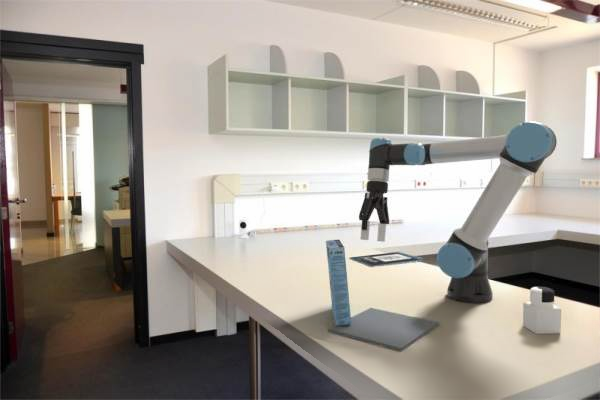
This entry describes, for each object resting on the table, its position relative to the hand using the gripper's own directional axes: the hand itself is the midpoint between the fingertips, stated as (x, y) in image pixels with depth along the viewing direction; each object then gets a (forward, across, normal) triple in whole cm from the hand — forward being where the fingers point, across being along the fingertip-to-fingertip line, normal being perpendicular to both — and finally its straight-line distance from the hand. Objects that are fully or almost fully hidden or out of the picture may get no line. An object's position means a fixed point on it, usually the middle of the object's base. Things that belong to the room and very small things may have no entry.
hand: (373, 240), depth 160 cm
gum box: (+24, +21, +1) cm, 32 cm away
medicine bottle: (+21, -1, +54) cm, 58 cm away
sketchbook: (+9, -66, -23) cm, 70 cm away
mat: (+25, +22, +16) cm, 37 cm away
